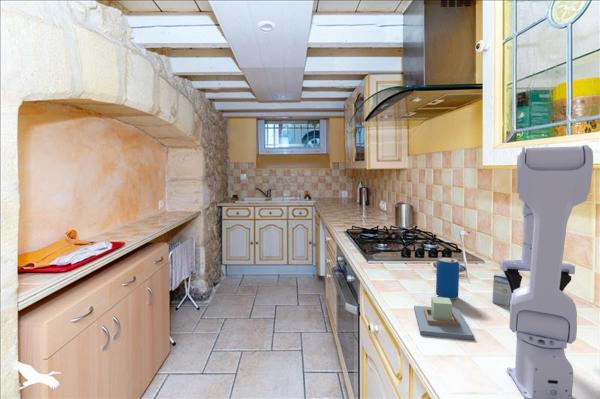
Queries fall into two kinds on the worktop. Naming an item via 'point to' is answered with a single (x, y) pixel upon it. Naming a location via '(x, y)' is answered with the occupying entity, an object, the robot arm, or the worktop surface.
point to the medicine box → (501, 289)
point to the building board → (442, 324)
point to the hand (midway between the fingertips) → (534, 302)
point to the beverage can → (447, 278)
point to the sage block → (441, 309)
